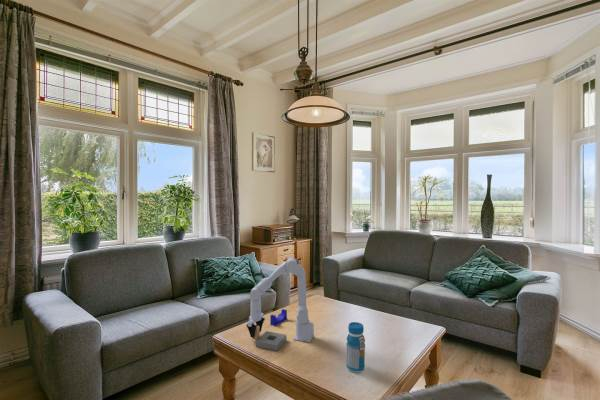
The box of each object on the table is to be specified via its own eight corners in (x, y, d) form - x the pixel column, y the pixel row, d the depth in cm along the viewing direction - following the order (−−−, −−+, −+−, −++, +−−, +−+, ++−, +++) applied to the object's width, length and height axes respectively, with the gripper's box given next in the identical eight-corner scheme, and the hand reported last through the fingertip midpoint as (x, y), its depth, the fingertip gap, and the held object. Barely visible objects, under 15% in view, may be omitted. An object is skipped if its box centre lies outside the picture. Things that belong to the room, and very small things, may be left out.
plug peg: (259, 336, 172) (259, 325, 172) (256, 339, 169) (256, 328, 169) (254, 335, 173) (254, 325, 173) (252, 338, 170) (252, 327, 170)
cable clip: (281, 317, 198) (281, 308, 198) (286, 319, 195) (286, 310, 195) (268, 324, 188) (268, 314, 188) (274, 326, 186) (274, 316, 185)
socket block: (286, 340, 168) (286, 334, 168) (276, 351, 157) (276, 345, 157) (266, 336, 172) (266, 331, 172) (255, 346, 161) (255, 340, 161)
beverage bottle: (347, 373, 138) (348, 329, 137) (344, 362, 147) (345, 320, 146) (366, 373, 138) (367, 329, 137) (362, 362, 147) (363, 321, 146)
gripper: (255, 304, 179) (255, 327, 180) (242, 313, 165) (242, 338, 166) (266, 305, 176) (266, 329, 177) (254, 315, 163) (254, 341, 163)
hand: (255, 334), depth 171 cm, fingers open, 7 cm apart
